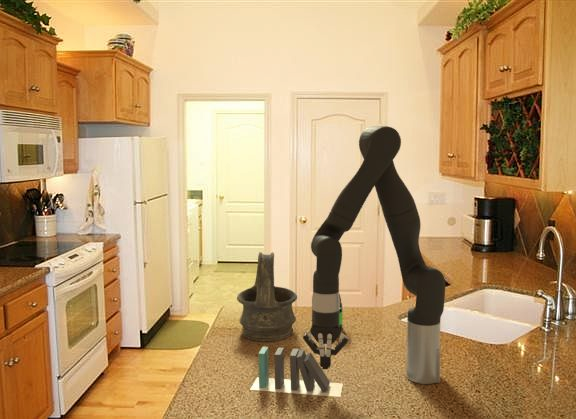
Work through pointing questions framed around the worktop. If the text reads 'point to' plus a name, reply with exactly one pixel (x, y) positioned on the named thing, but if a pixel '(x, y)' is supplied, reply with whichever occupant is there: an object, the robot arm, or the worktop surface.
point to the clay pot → (266, 305)
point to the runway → (299, 388)
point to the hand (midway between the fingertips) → (325, 368)
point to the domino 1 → (263, 367)
